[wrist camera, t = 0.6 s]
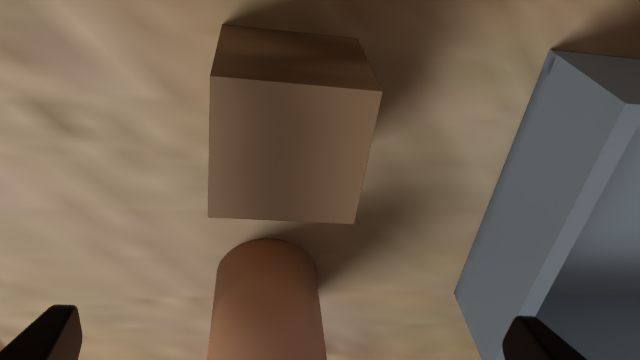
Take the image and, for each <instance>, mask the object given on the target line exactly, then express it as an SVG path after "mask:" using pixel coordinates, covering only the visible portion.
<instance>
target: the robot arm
mask: <svg viewBox="0 0 640 360" xmlns="http://www.w3.org/2000/svg"><path fill="white" fill-rule="evenodd" d="M81 344H82V329H81V324H80V319H79V313H78V309H77V307H76V306H74V305H53V306H51V307H50V308H48V309H47V310H46V311H45V312H44V313H43V314H42V315H40V316H39V317H38V318H37V319H36V320H35V321H34V322H33V323H31V324H30V325H29V326H28V327H27V328H26V329H25V330H24V331H23V332H21V333H20V334H19V335H18V336H17V337H16V338H15V339H14V340H12V341H11V342H10V343H9V344H8V345H7V346H6V347H5V348H3V349H2V350H1V351H0V360H78V357H79V353H80V349H81ZM502 349H503V354H504V358H505V360H587V359H586V358H585V357H584V356H583V355H581V354H580V353H579V352H578V351H577V350H575V349H574V348H573V347H572V346H571V345H569V344H568V343H567V342H566V341H565V340H563V339H562V338H561V337H560V336H559V335H557V334H556V333H555V332H554V331H553V330H551V329H550V328H549V327H548V326H547V325H545V324H544V323H543V322H542V321H541V320H539V319H538V318H537V317H534V316H516V317H515V318H514V319H513V321H512V323H511V325H510V327H509V329H508V331H507V333H506V335H505V337H504V339H503V343H502Z"/></svg>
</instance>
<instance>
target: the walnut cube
mask: <svg viewBox="0 0 640 360" xmlns="http://www.w3.org/2000/svg"><path fill="white" fill-rule="evenodd" d="M382 93H383V91H382V89H381V87H380V85H379V83H378V81H377V79H376V77H375V75H374V73H373V71H372V69H371V66H370V64H369V62H368V60H367V58H366V56H365V54H364V52H363V50H362V48H361V46H360V44H359V42H358V40H357V39H354V38H345V37H336V36H326V35H317V34H307V33H298V32H289V31H279V30H270V29H261V28H251V27H242V26H233V25H223V24H222V28H221V32H220V36H219V40H218V44H217V49H216V53H215V57H214V61H213V66H212V70H211V74H210V113H209V176H208V217H214V218H235V219H255V220H276V221H297V222H318V223H338V224H354V221H355V217H356V212H357V208H358V203H359V198H360V194H361V189H362V185H363V180H364V176H365V171H366V166H367V162H368V157H369V153H370V148H371V143H372V139H373V134H374V130H375V125H376V121H377V116H378V111H379V107H380V102H381V98H382Z"/></svg>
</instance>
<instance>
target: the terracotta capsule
mask: <svg viewBox="0 0 640 360" xmlns="http://www.w3.org/2000/svg"><path fill="white" fill-rule="evenodd" d="M207 360H327V358H326V350H325V342H324V334H323V325H322V317H321V309H320V301H319V292H318V284H317V276H316V268H315V265H314V263H313V260H312V259H311V257H310V256H309V255H308V254H307V253H306V252H305V251H304V250H303V249H301V248H300V247H298V246H296V245H294V244H292V243H289V242H286V241H282V240H277V239H259V240H253V241H249V242H246V243H243V244H241V245H239V246H237V247H235V248H234V249H232V250H231V251H230V252H228V253H227V254H226V255H225V256H224V257H223V259H222V260H221V262H220V264H219V266H218V269H217V275H216V284H215V293H214V302H213V311H212V320H211V328H210V337H209V346H208V355H207Z"/></svg>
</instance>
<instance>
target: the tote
mask: <svg viewBox="0 0 640 360" xmlns="http://www.w3.org/2000/svg"><path fill="white" fill-rule="evenodd" d="M454 295H455V297H456V299H457V302H458V304H459V306H460V309H461V311H462V314H463V316H464V318H465V321H466V323H467V325H468V328H469V330H470V332H471V335H472V337H473V339H474V342H475V344H476V347H477V349H478V351H479V354H480V356H481V358H482V360H505V358H504V354H503V349H502V343H503V339H504V337H505V335H506V333H507V331H508V329H509V327H510V325H511V323H512V321H513V319H514V318H515V317H516V316H534V317H537V318H538V319H539V320H541V321H542V322H543V323H544V324H545V325H547V326H548V327H549V328H550V329H551V330H553V331H554V332H555V333H556V334H557V335H559V336H560V337H561V338H562V339H563V340H565V341H566V342H567V343H568V344H569V345H571V346H572V347H573V348H574V349H575V350H577V351H578V352H579V353H580V354H581V355H583V356H584V357H585V358H586V359H587V360H640V59H630V58H621V57H612V56H603V55H594V54H585V53H576V52H567V51H558V50H550V51H549V53H548V56H547V58H546V61H545V63H544V66H543V68H542V71H541V73H540V76H539V79H538V81H537V84H536V86H535V89H534V91H533V94H532V96H531V99H530V101H529V104H528V106H527V109H526V111H525V114H524V117H523V119H522V122H521V124H520V127H519V129H518V132H517V134H516V137H515V139H514V142H513V144H512V147H511V150H510V152H509V155H508V157H507V160H506V162H505V165H504V167H503V170H502V172H501V175H500V177H499V180H498V182H497V185H496V188H495V190H494V193H493V195H492V198H491V200H490V203H489V205H488V208H487V210H486V213H485V215H484V218H483V220H482V223H481V226H480V228H479V231H478V233H477V236H476V238H475V241H474V243H473V246H472V248H471V251H470V253H469V256H468V259H467V261H466V264H465V266H464V269H463V271H462V274H461V276H460V279H459V281H458V284H457V286H456V289H455V291H454Z"/></svg>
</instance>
